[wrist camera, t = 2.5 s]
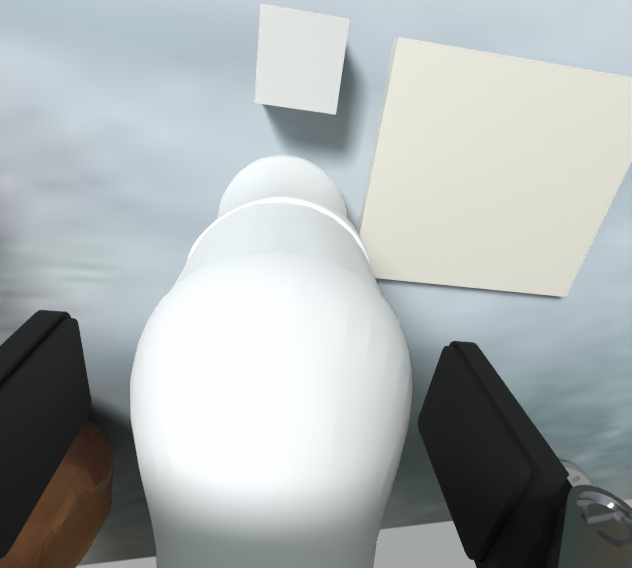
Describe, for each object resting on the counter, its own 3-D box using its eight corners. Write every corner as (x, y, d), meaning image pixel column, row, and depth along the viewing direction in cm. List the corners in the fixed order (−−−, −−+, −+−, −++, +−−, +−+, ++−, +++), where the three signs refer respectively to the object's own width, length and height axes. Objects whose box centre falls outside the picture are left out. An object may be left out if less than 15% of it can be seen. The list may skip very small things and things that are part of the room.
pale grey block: (339, 29, 21) (349, 18, 18) (328, 109, 23) (335, 114, 19) (265, 17, 21) (260, 3, 17) (260, 99, 22) (254, 102, 19)
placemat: (654, 83, 23) (668, 83, 22) (557, 290, 29) (565, 297, 28) (394, 38, 21) (398, 36, 20) (349, 269, 28) (351, 275, 27)
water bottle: (318, 269, 27) (437, 1057, 5) (216, 239, 26) (-216, 1155, 4) (356, 170, 24) (1008, 1021, 2) (244, 130, 23) (-1009, 1401, 1)
